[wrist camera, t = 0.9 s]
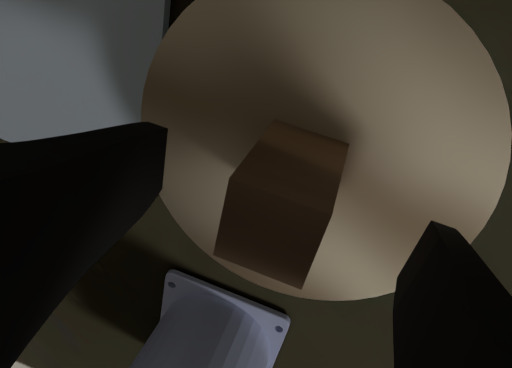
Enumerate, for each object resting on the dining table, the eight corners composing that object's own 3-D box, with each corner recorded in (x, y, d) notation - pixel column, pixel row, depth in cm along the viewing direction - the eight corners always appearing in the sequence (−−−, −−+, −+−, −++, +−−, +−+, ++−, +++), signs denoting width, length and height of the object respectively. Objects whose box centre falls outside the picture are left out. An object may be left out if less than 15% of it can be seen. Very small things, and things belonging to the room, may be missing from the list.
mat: (154, 190, 21) (149, 194, 21) (-53, 112, 23) (-61, 115, 23) (181, -127, 14) (175, -130, 13) (-128, -202, 16) (-142, -207, 15)
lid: (402, 326, 15) (406, 452, 11) (144, 224, 17) (67, 304, 13) (605, 23, 9) (772, 66, 5) (166, -90, 11) (35, -123, 7)
